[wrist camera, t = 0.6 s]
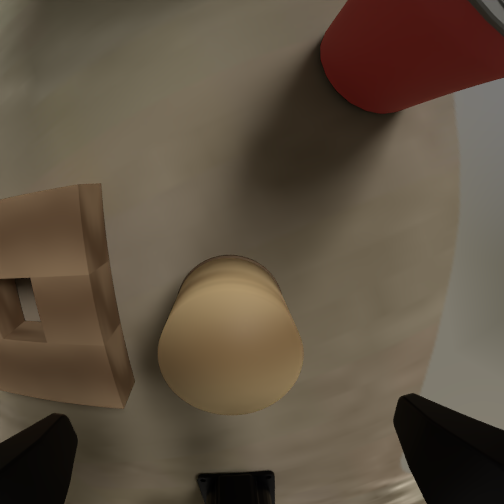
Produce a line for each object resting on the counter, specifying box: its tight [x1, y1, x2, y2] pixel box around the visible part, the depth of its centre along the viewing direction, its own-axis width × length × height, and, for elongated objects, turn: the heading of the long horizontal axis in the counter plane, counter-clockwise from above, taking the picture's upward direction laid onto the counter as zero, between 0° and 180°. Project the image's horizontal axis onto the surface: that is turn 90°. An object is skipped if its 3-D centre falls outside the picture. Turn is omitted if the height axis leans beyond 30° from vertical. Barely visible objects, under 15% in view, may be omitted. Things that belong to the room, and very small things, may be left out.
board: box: [0, 183, 135, 409], centre depth 16 cm, size 13×12×3 cm
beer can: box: [320, 0, 504, 114], centre depth 10 cm, size 7×7×12 cm
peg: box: [158, 255, 304, 415], centre depth 14 cm, size 5×5×8 cm
